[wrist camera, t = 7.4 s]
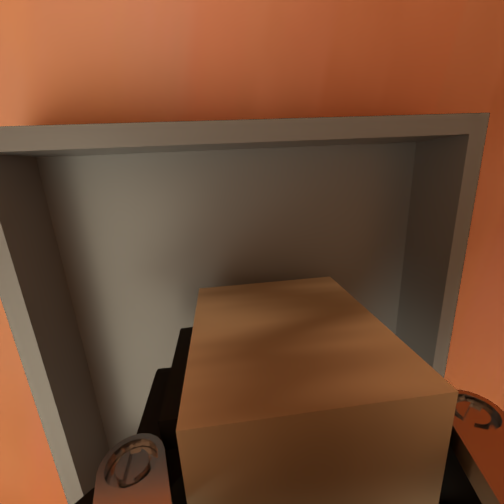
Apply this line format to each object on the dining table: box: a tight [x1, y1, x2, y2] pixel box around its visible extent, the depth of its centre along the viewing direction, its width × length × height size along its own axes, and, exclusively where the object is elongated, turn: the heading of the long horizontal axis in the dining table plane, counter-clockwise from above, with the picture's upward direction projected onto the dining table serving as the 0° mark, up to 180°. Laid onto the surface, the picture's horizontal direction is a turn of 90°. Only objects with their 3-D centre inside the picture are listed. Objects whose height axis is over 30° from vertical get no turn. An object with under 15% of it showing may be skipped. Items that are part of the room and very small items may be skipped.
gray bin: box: [0, 113, 490, 504], centre depth 11 cm, size 15×15×3 cm
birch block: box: [176, 277, 459, 504], centre depth 8 cm, size 5×5×6 cm
